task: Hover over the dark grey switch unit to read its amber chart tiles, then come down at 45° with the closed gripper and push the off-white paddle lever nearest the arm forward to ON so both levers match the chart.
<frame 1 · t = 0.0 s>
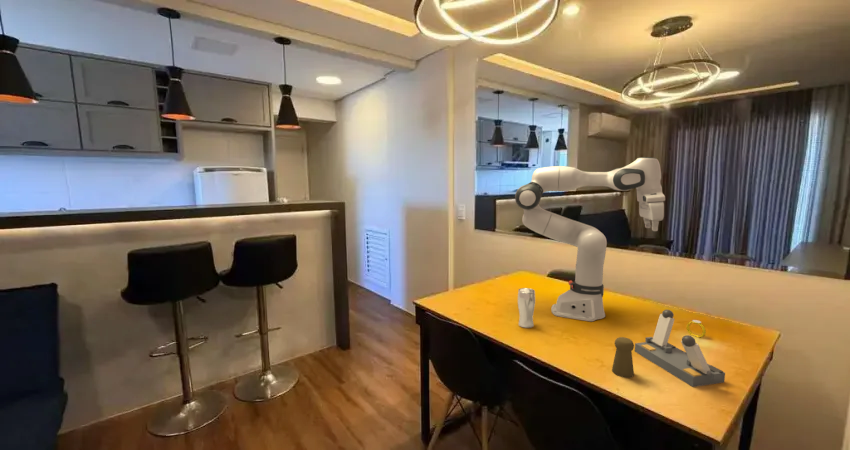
hand: (651, 229, 147), 39 cm above the table, tool pointing down, fingers open, 8 cm apart
watch: (695, 336, 135), on the table
beer glass: (526, 325, 148), on the table
lever A: (663, 328, 120), point 10 cm above the table, hinge at -15.0°
brown pawn: (622, 373, 110), on the table
switch unit: (675, 365, 114), on the table
lever B: (694, 353, 103), point 9 cm above the table, hinge at 30.0°
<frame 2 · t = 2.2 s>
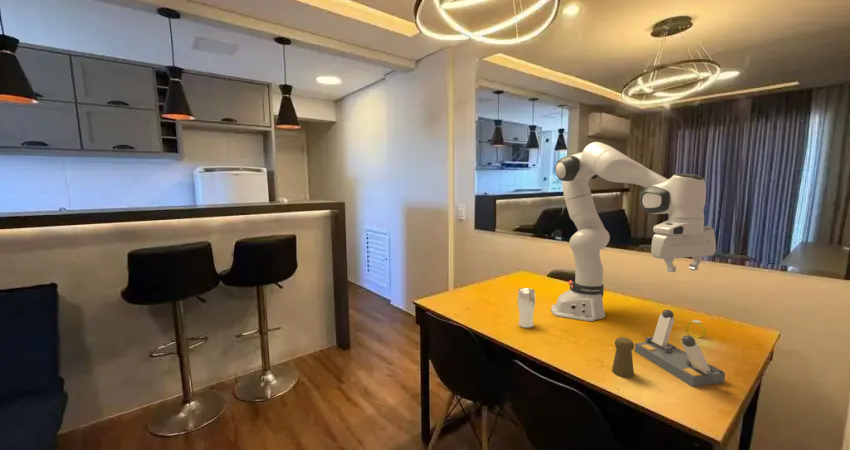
hand: (682, 270, 110), 31 cm above the table, tool pointing down, fingers open, 7 cm apart
nothing on the table moved.
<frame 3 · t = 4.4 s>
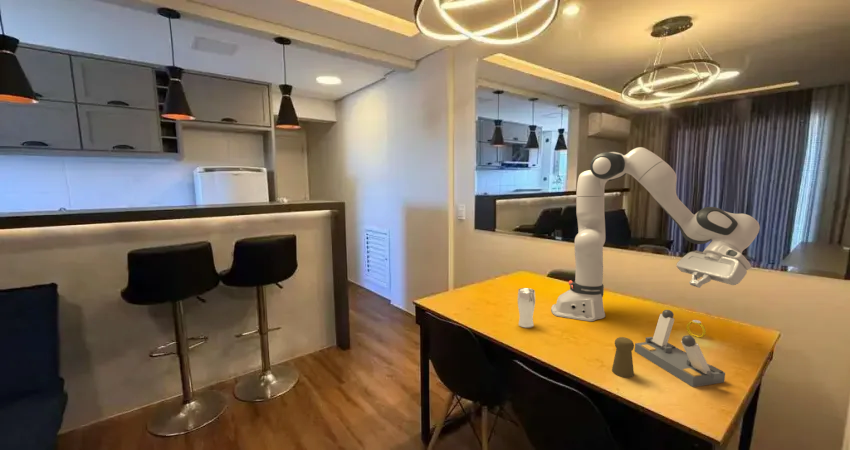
hand: (694, 285, 120), 24 cm above the table, tool tilted 45°, fingers closed
nothing on the table moved.
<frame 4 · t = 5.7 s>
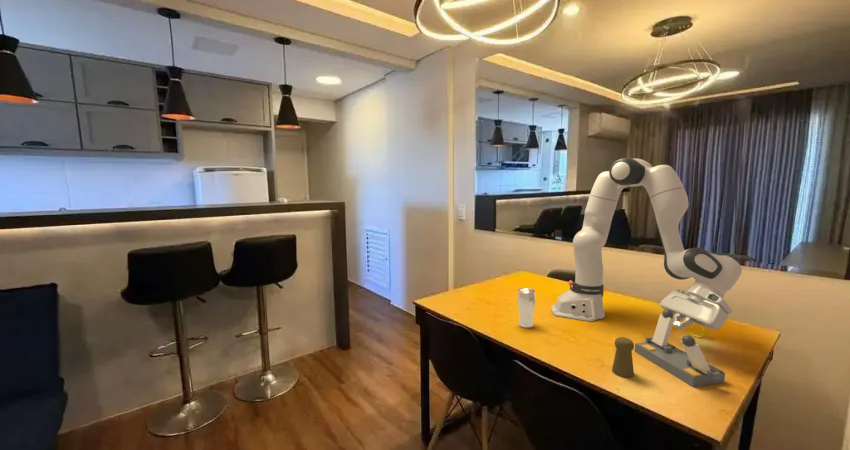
hand: (676, 327, 120), 9 cm above the table, tool tilted 45°, fingers closed
nothing on the table moved.
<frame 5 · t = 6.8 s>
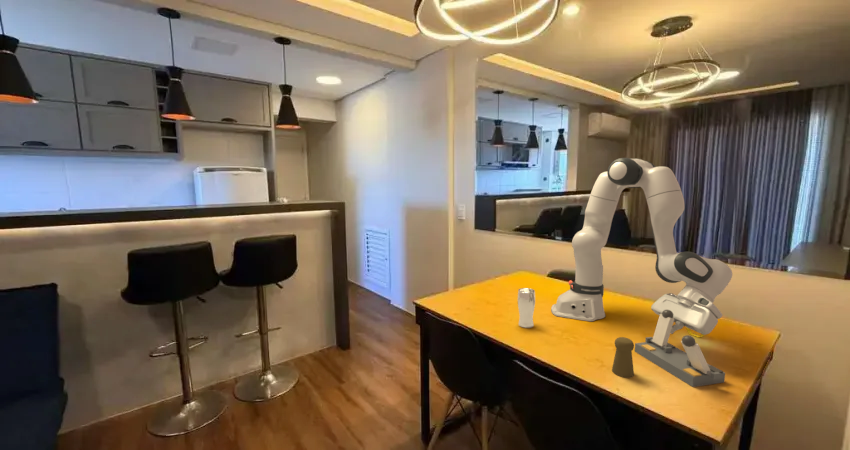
hand: (667, 331, 120), 8 cm above the table, tool tilted 45°, fingers closed, pressing on lever A
lever A: (663, 328, 120), point 10 cm above the table, hinge at -14.6°, touching gripper
everything else where it was.
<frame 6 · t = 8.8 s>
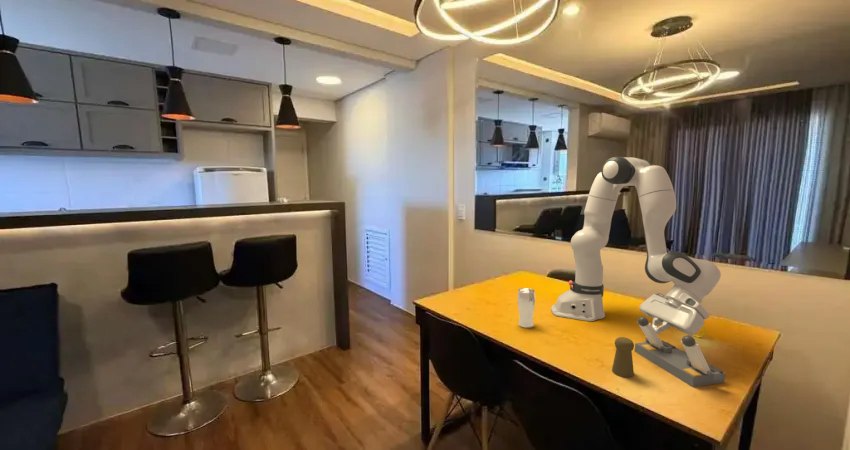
hand: (654, 331, 119), 9 cm above the table, tool tilted 45°, fingers closed
lever A: (649, 332, 119), point 9 cm above the table, hinge at 34.0°
everything else where it was.
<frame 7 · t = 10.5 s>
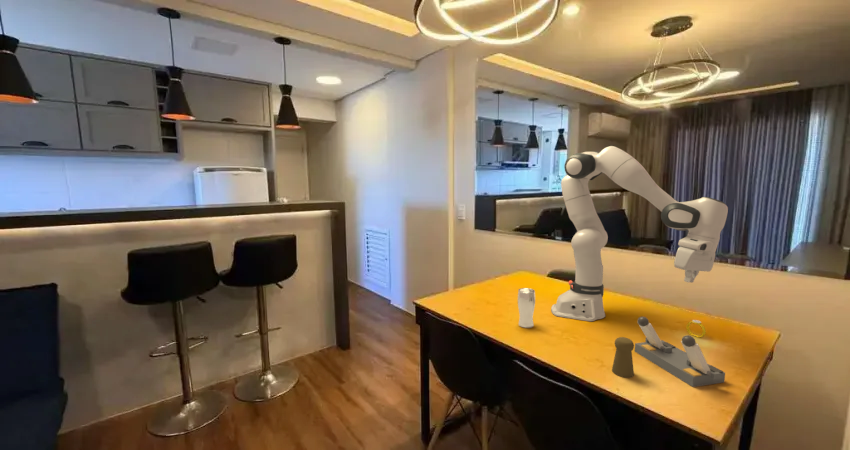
hand: (688, 281, 125), 23 cm above the table, tool pointing down, fingers closed
nothing on the table moved.
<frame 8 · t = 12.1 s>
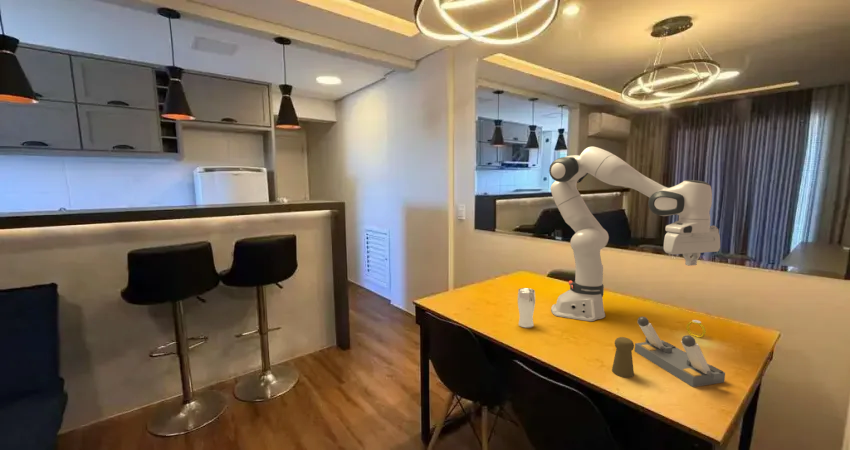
hand: (690, 265, 125), 29 cm above the table, tool pointing down, fingers closed
nothing on the table moved.
at the end: lever A at +34° (first picture: -15°); lever B at +30° (first picture: +30°) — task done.
